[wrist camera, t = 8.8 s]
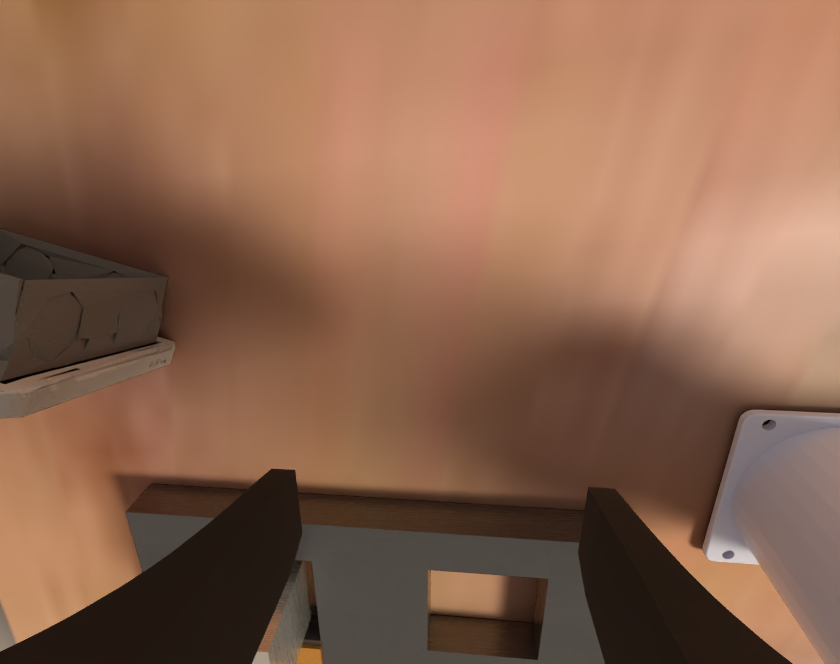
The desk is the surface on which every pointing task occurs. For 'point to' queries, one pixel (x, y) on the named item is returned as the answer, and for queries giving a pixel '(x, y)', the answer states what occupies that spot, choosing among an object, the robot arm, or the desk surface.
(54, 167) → the desk surface
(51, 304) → the electrical switch
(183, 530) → the grey board with holes
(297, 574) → the peg
